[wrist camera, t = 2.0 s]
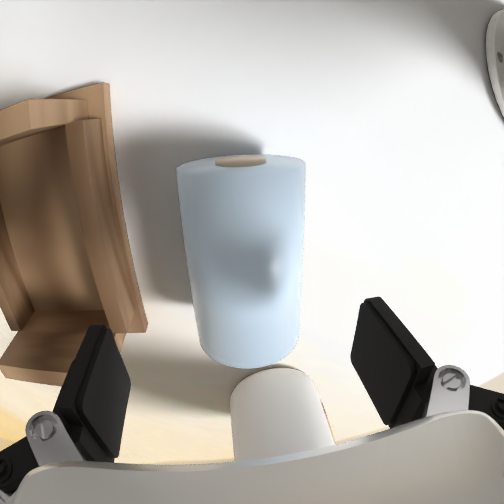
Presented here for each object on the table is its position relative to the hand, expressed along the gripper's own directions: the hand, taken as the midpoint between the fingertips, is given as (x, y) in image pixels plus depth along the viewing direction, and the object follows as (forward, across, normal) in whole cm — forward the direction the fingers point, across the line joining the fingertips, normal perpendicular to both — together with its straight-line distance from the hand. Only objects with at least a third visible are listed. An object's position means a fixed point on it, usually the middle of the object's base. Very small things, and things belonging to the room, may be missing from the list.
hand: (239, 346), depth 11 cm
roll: (+9, -1, -1) cm, 9 cm away
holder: (+9, +11, -3) cm, 15 cm away
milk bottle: (+9, -3, +14) cm, 17 cm away
